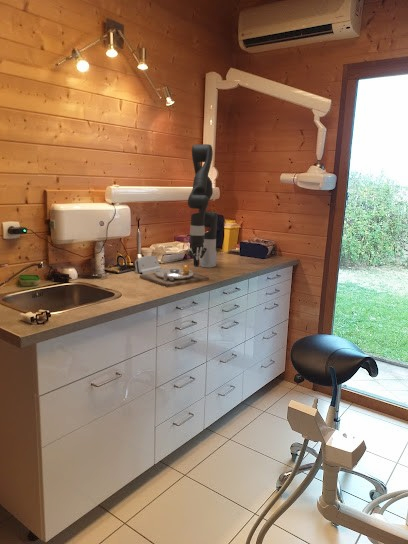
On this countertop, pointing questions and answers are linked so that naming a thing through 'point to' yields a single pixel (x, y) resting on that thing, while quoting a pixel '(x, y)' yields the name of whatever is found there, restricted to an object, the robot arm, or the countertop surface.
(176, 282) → the base board
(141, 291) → the countertop surface
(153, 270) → the hinge
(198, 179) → the robot arm
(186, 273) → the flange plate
